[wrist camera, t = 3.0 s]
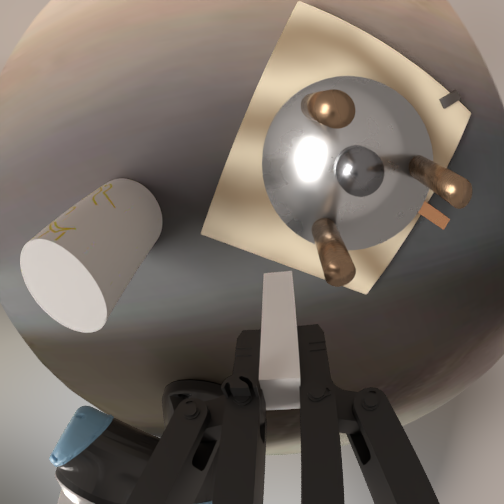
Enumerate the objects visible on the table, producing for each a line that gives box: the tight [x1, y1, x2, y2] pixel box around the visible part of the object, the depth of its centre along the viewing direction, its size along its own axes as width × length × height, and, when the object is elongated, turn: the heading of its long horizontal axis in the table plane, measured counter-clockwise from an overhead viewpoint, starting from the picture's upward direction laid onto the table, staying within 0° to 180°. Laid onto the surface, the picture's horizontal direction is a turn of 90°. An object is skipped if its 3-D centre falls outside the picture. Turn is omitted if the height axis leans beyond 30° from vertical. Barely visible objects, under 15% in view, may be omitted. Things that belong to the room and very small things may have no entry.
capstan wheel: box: [262, 76, 472, 286], centre depth 17 cm, size 14×18×8 cm
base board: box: [201, 1, 471, 294], centre depth 21 cm, size 23×18×2 cm
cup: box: [20, 178, 162, 333], centre depth 20 cm, size 8×8×12 cm
